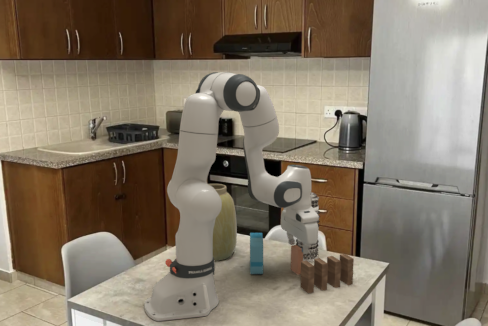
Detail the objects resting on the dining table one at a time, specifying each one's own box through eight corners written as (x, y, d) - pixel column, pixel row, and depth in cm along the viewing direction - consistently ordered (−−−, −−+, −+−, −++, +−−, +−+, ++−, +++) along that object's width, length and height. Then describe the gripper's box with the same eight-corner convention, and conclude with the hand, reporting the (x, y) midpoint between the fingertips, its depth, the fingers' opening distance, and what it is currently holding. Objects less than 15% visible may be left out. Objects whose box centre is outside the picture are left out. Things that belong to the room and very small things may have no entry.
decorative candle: (292, 260, 184) (293, 195, 179) (297, 251, 193) (298, 189, 188) (316, 263, 182) (318, 197, 177) (320, 254, 190) (322, 191, 185)
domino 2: (308, 293, 157) (308, 266, 156) (300, 287, 162) (301, 261, 160) (313, 292, 158) (314, 266, 157) (305, 286, 163) (306, 260, 161)
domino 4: (334, 287, 161) (335, 262, 160) (326, 282, 166) (327, 256, 164) (339, 286, 162) (340, 261, 160) (331, 280, 167) (332, 255, 165)
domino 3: (321, 290, 159) (322, 264, 158) (313, 284, 164) (314, 259, 162) (326, 289, 160) (327, 263, 158) (318, 283, 165) (319, 258, 163)
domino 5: (347, 285, 163) (348, 259, 162) (338, 279, 168) (339, 254, 166) (352, 284, 164) (353, 258, 162) (343, 278, 169) (344, 253, 167)
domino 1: (297, 274, 172) (298, 250, 170) (290, 269, 176) (291, 245, 174) (302, 273, 172) (303, 249, 171) (295, 268, 177) (296, 244, 175)
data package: (263, 275, 171) (263, 242, 169) (250, 275, 171) (250, 242, 169) (262, 262, 183) (262, 231, 180) (249, 262, 183) (249, 231, 180)
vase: (188, 249, 196) (186, 183, 191) (229, 244, 201) (229, 180, 196) (197, 265, 180) (195, 193, 175) (242, 260, 185) (242, 190, 180)
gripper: (276, 204, 178) (276, 240, 181) (305, 220, 160) (304, 260, 163) (291, 202, 181) (291, 237, 183) (321, 217, 162) (321, 257, 165)
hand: (298, 248), depth 173 cm, fingers open, 8 cm apart
